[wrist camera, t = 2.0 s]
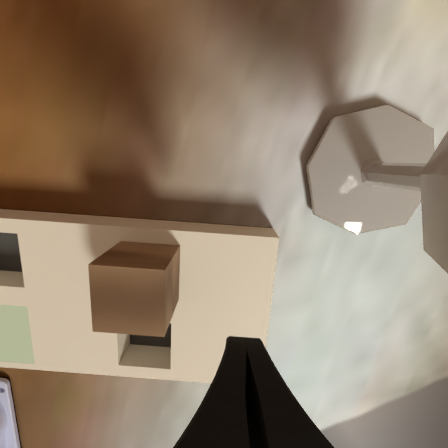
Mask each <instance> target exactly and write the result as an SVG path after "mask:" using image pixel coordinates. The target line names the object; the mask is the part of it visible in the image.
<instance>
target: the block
mask: <svg viewBox="0 0 448 448" xmlns="http://www.w3.org/2000/svg"><path fill="white" fill-rule="evenodd" d="M88 270H89V285H90V300H91V315H92V330H93V332H104V333H117V334H130V335H144V336H157V337H165V334H166V332H167V329H168V326H169V324H170V321H171V318H172V316H173V313H174V311H175V308H176V305H177V303H178V300H179V274H180V245H169V244H155V243H141V242H127V241H120V242H119V243H117V244H116V245H115V246H113V247H112V248H110V249H109V250H108V251H106V252H105V253H103V254H102V255H101V256H99V257H98V258H96V259H95V260H94V261H92V262H91V263H90V264H88Z"/></svg>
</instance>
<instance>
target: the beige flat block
mask: <svg viewBox="0 0 448 448" xmlns="http://www.w3.org/2000/svg"><path fill="white" fill-rule="evenodd" d="M120 241H127V242H141V243H155V244H169V245H180V274H179V300H178V303H177V305H176V308H175V311H174V313H173V316H172V318H171V321H170V324H169V326H168V329H167V332H166V334H165V337H157V336H144V335H130V334H117V333H104V332H93V330H92V315H91V300H90V285H89V270H88V264H90V263H91V262H92V261H94V260H95V259H96V258H98V257H99V256H101V255H102V254H103V253H105V252H106V251H108V250H109V249H110V248H112V247H113V246H115V245H116V244H117V243H119V242H120ZM278 245H279V237H278V235H277V233H276V232H275V230H274V229H273V228H264V227H249V226H235V225H221V224H207V223H193V222H178V221H164V220H150V219H136V218H122V217H108V216H93V215H79V214H65V213H51V212H37V211H23V210H8V209H0V367H7V368H20V369H33V370H46V371H59V372H72V373H85V374H98V375H111V376H124V377H137V378H150V379H163V380H176V381H189V382H202V383H212V381H213V379H214V377H215V375H216V372H217V370H218V367H219V365H220V362H221V359H222V356H223V353H224V350H225V345H226V338H227V337H229V336H236V337H244V338H245V337H249V338H260V339H261V340H262V342H263V344H264V346H265V348H266V342H267V334H268V326H269V318H270V310H271V301H272V293H273V285H274V277H275V269H276V261H277V253H278Z"/></svg>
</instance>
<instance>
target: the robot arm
mask: <svg viewBox="0 0 448 448" xmlns="http://www.w3.org/2000/svg"><path fill="white" fill-rule="evenodd" d="M0 448H20V442H19V436H18V430H17V424H16V418H15V412H14V406H13V400H12V394H11V387H10V382H9V380H8V379H6V378H0ZM173 448H334V447H333V446H332V445H331V443H330V442H329V441H328V440H327V439H326V437H325V436H324V435H323V434H322V433H321V431H320V430H319V429H318V428H317V426H316V425H315V424H314V423H313V421H312V420H311V419H310V418H309V416H308V415H307V414H306V412H305V411H304V410H303V408H302V407H301V405H300V404H299V403H298V401H297V400H296V398H295V397H294V395H293V394H292V392H291V391H290V389H289V388H288V386H287V385H286V383H285V382H284V380H283V378H282V377H281V375H280V373H279V372H278V370H277V368H276V367H275V365H274V363H273V361H272V360H271V358H270V356H269V354H268V352H267V350H266V348H265V346H264V344H263V342H262V340H261V339H260V338H249V337H245V338H244V337H236V336H229V337H227V338H226V345H225V350H224V353H223V356H222V359H221V362H220V365H219V367H218V370H217V372H216V375H215V377H214V379H213V381H212V383H211V385H210V387H209V389H208V391H207V393H206V395H205V397H204V399H203V401H202V403H201V405H200V406H199V408H198V410H197V412H196V413H195V415H194V417H193V418H192V420H191V422H190V423H189V425H188V426H187V428H186V429H185V431H184V432H183V434H182V435H181V437H180V438H179V440H178V441H177V443H176V444H175V446H174V447H173Z"/></svg>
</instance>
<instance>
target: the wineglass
mask: <svg viewBox="0 0 448 448" xmlns="http://www.w3.org/2000/svg"><path fill="white" fill-rule="evenodd" d="M306 170H307V177H308V184H309V190H310V197H311V204H312V211H313V214H314V215H316V216H318V217H320V218H322V219H324V220H327V221H329V222H331V223H333V224H335V225H337V226H339V227H341V228H343V229H345V230H348V231H350V232H352V233H354V234H359V233H364V232H369V231H374V230H379V229H384V228H390V227H395V226H400V225H405V224H406V223H407V222H408V220H409V219H410V217H411V216H412V214H413V213H414V211H415V210H416V208H417V207H418V205H419V204H420V202H421V204H422V225H423V246H424V251H425V252H426V253H427V254H428V255H430V256H431V257H432V258H433V259H434V260H435V261H436V262H437V263H438V264H439V265H440V266H441V267H442V268H443V269H444V270H445V271H446V272H447V273H448V132H447V133H446V135H445V136H444V138H443V140H442V141H441V143H440V144H439V146H438V147H437V149H436V150H435V152H434V129H433V128H432V127H430V126H428V125H426V124H424V123H422V122H420V121H418V120H416V119H415V118H413V117H411V116H409V115H407V114H405V113H403V112H401V111H399V110H397V109H395V108H394V107H392V106H390V105H386V104H385V105H381V106H377V107H373V108H369V109H364V110H360V111H356V112H352V113H348V114H343V115H339V116H335V117H332V118H331V120H330V122H329V124H328V125H327V127H326V129H325V131H324V133H323V135H322V137H321V139H320V141H319V142H318V144H317V146H316V148H315V150H314V152H313V154H312V156H311V158H310V159H309V161H308V163H307V165H306Z"/></svg>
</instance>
